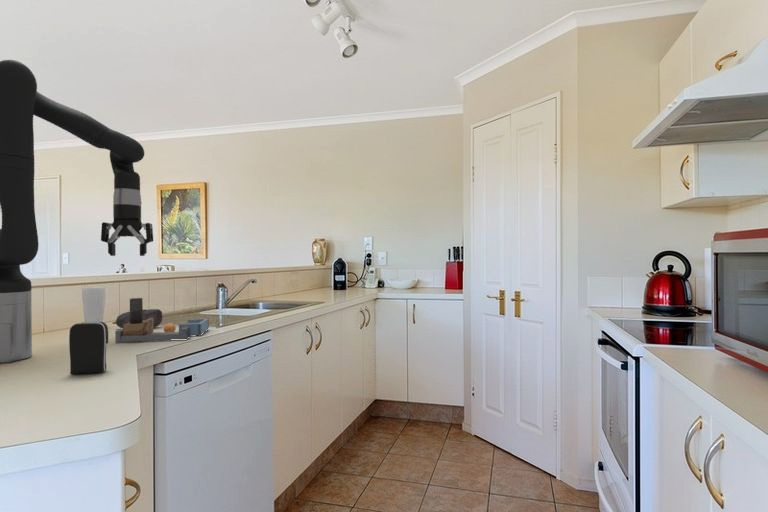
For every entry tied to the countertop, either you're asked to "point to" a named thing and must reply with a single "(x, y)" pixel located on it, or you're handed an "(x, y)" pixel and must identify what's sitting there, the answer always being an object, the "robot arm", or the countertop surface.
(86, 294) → the drinking glass
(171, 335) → the rail
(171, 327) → the ball
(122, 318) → the perforated stone tool
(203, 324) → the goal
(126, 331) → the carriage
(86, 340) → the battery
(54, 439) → the countertop surface
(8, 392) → the countertop surface
